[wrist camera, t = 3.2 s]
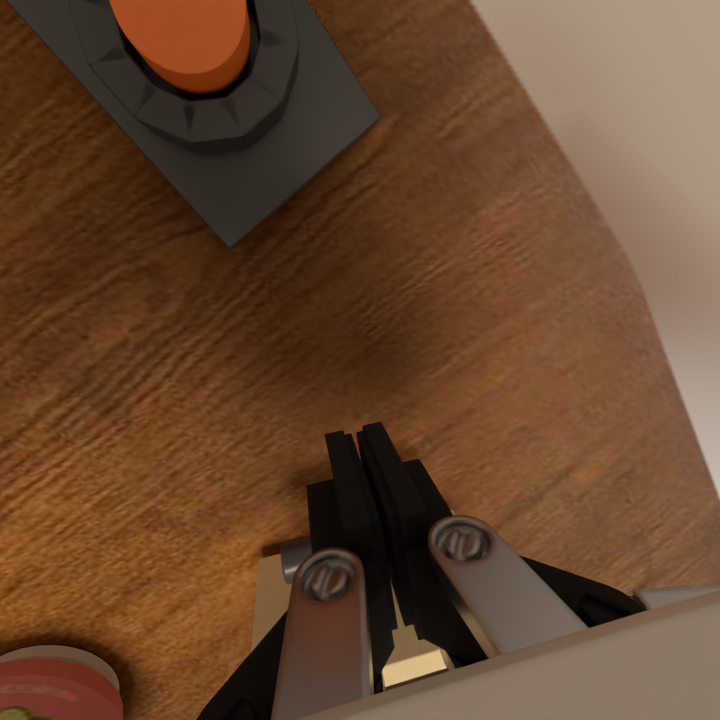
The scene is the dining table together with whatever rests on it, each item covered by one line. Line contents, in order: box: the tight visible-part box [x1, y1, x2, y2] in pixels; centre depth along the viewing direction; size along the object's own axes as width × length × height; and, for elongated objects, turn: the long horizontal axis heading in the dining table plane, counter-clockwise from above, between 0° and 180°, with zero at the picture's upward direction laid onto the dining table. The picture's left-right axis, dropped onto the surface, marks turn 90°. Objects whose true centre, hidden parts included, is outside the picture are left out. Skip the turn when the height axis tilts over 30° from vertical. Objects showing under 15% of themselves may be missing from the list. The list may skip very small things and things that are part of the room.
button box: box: [6, 0, 381, 248], centre depth 14 cm, size 11×8×4 cm
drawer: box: [251, 509, 456, 691], centre depth 20 cm, size 18×11×7 cm, turn 8°
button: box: [109, 0, 251, 94], centre depth 12 cm, size 4×4×2 cm
